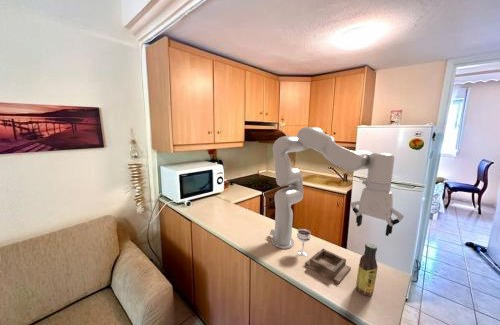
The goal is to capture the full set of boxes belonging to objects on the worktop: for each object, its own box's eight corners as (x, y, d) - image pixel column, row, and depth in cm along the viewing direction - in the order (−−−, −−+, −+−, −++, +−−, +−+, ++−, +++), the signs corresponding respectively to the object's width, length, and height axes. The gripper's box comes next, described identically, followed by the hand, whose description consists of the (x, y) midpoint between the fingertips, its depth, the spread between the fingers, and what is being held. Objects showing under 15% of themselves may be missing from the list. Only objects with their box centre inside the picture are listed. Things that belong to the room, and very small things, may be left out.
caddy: (304, 265, 96) (305, 256, 95) (318, 254, 105) (319, 246, 104) (338, 284, 85) (339, 275, 84) (350, 270, 93) (351, 261, 93)
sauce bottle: (368, 299, 78) (375, 252, 74) (352, 288, 83) (358, 244, 79) (376, 291, 81) (383, 247, 78) (360, 282, 86) (366, 239, 83)
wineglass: (296, 248, 110) (298, 227, 108) (309, 251, 107) (311, 230, 105) (294, 255, 103) (296, 233, 101) (308, 258, 101) (310, 236, 99)
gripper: (349, 183, 78) (345, 224, 81) (405, 194, 65) (398, 242, 68) (356, 180, 83) (352, 219, 86) (409, 189, 71) (402, 234, 73)
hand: (372, 229), depth 77 cm, fingers open, 9 cm apart
